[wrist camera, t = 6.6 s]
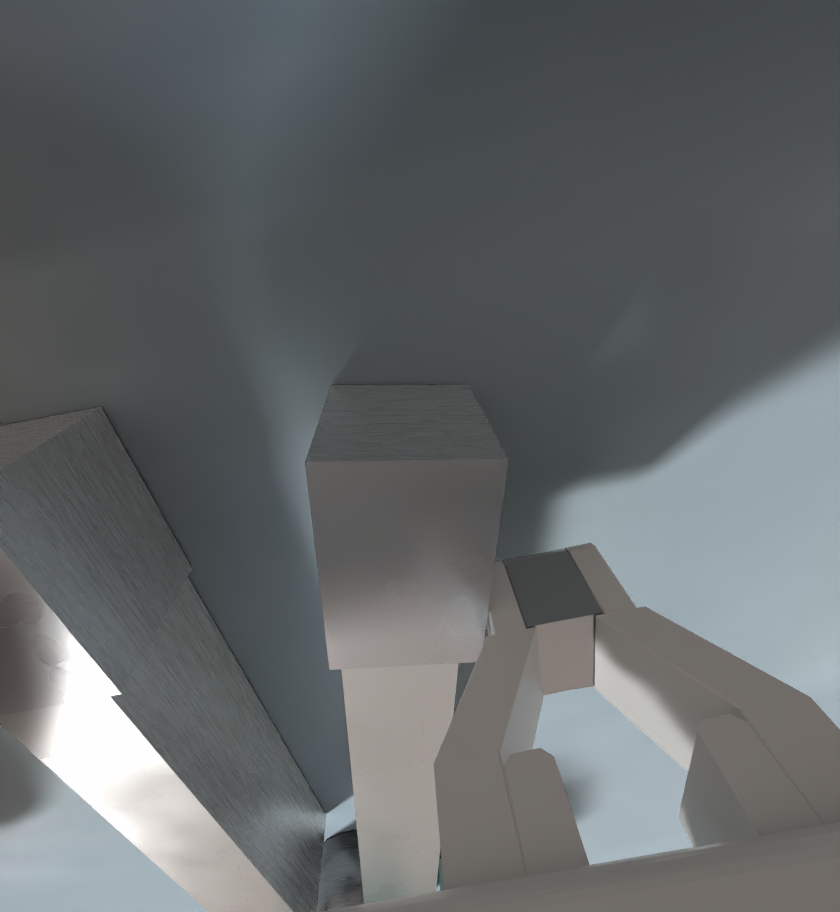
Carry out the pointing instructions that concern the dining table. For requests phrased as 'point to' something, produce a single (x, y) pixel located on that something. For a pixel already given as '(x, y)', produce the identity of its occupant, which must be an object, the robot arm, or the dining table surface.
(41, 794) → the dining table surface
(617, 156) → the dining table surface
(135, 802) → the base
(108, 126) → the dining table surface
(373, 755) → the jaw
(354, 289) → the dining table surface
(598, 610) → the robot arm
